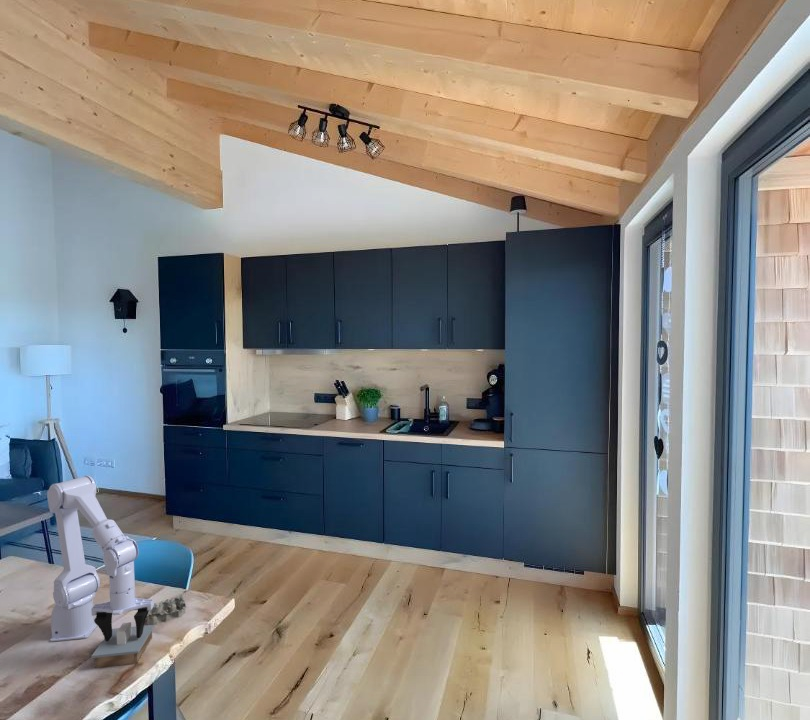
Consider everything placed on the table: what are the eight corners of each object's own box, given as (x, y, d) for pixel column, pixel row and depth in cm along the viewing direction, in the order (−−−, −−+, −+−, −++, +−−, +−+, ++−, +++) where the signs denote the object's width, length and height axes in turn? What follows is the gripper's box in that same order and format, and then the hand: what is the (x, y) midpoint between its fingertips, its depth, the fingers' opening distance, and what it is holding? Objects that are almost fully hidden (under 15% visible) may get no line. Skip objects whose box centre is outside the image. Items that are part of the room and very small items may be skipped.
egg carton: (146, 629, 134) (146, 615, 134) (145, 616, 141) (144, 603, 140) (187, 616, 140) (186, 603, 140) (183, 604, 147) (183, 591, 146)
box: (95, 667, 118) (94, 656, 118) (113, 642, 128) (112, 631, 128) (137, 663, 120) (137, 652, 120) (152, 638, 130) (151, 628, 130)
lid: (91, 658, 118) (90, 642, 117) (111, 630, 128) (111, 616, 128) (138, 653, 119) (137, 638, 119) (154, 626, 130) (153, 612, 130)
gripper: (84, 598, 118) (86, 650, 119) (145, 593, 120) (147, 644, 121) (98, 584, 125) (100, 632, 126) (155, 579, 127) (157, 627, 128)
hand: (124, 637), depth 124 cm, fingers open, 7 cm apart
